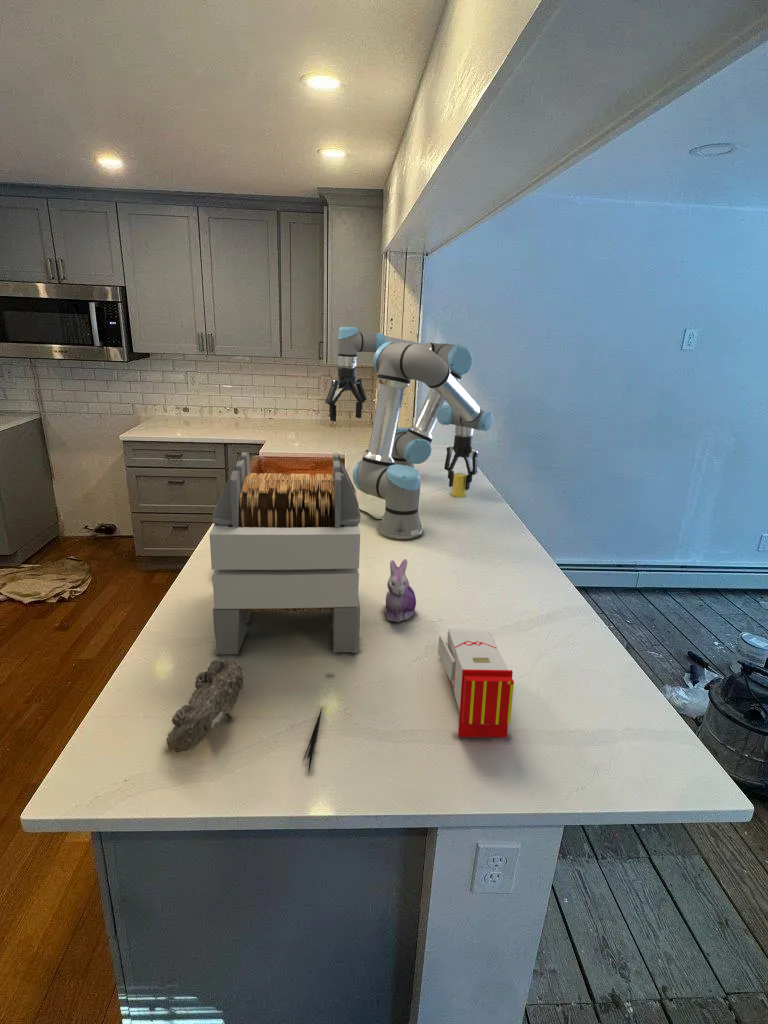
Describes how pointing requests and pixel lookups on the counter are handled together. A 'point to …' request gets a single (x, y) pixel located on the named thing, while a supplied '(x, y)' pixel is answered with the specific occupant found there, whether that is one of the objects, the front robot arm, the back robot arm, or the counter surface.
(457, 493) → the yellow cylinder
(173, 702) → the counter surface
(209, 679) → the fossil
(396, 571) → the figurine
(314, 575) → the transformer
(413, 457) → the back robot arm
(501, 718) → the toy
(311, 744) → the feather
